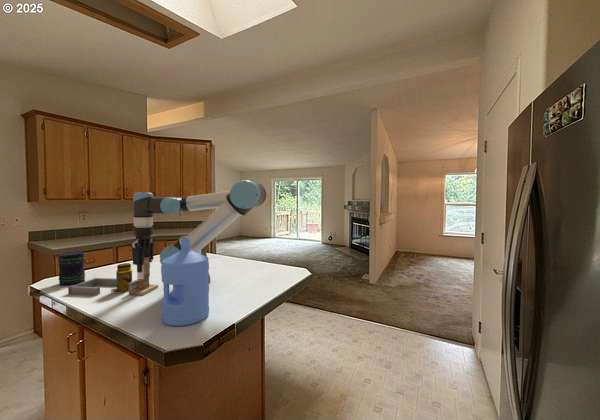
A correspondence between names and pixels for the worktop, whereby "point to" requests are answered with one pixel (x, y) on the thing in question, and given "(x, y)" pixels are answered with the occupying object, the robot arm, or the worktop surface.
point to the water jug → (185, 287)
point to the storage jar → (71, 268)
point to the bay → (87, 288)
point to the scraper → (142, 282)
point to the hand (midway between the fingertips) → (143, 277)
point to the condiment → (123, 278)
